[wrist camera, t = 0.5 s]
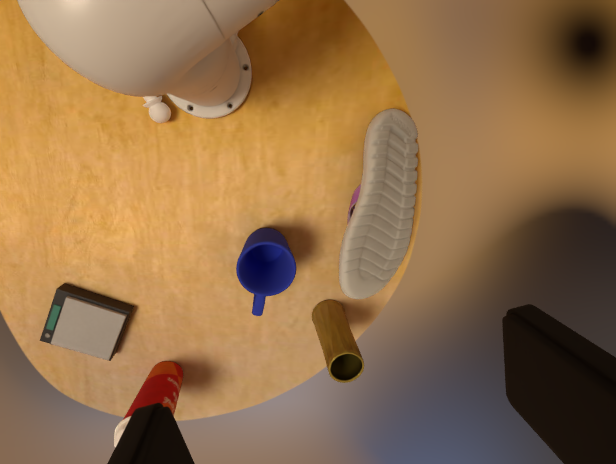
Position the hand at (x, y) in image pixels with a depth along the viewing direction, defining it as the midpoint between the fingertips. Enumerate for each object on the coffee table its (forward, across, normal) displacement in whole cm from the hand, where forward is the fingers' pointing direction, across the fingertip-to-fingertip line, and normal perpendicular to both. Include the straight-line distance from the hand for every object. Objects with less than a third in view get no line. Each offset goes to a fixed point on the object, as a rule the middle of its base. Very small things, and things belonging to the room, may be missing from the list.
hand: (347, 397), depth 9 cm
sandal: (+38, -14, +6) cm, 41 cm away
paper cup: (+46, +29, +29) cm, 61 cm away
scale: (+45, +37, +15) cm, 60 cm away
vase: (+46, -2, +25) cm, 52 cm away
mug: (+45, +6, +11) cm, 47 cm away
